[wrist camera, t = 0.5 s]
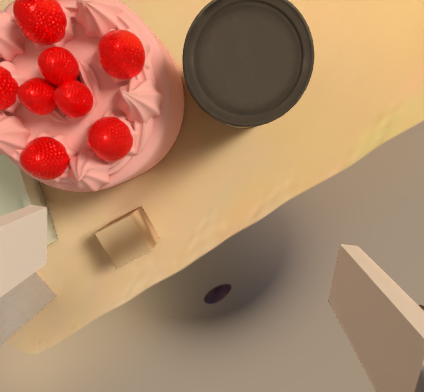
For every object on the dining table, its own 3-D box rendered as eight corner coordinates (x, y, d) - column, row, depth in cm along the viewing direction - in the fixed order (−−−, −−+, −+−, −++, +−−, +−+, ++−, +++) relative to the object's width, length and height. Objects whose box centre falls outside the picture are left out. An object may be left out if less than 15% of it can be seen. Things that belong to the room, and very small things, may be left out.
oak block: (110, 222, 44) (94, 233, 39) (141, 205, 43) (129, 215, 38) (129, 253, 45) (115, 268, 40) (160, 238, 44) (150, 251, 39)
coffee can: (303, 92, 39) (341, 71, 25) (234, 144, 41) (233, 152, 27) (253, 19, 38) (262, -45, 24) (183, 76, 40) (155, 47, 26)
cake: (119, 209, 44) (64, 247, 30) (1, 106, 42) (-115, 94, 28) (218, 96, 40) (208, 78, 26) (92, -23, 38) (10, -111, 24)
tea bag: (24, 260, 46) (-33, 295, 36) (56, 295, 47) (9, 339, 37) (7, 274, 47) (-54, 312, 37) (39, 309, 47) (-12, 355, 38)
